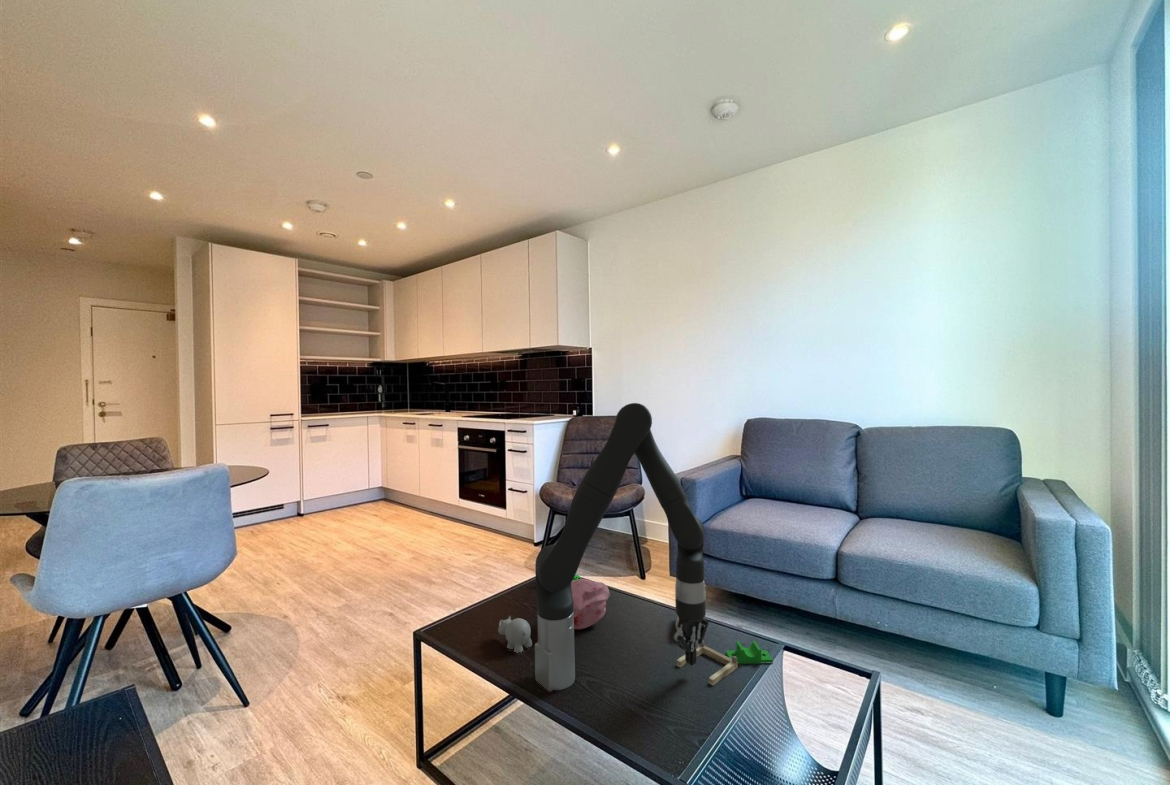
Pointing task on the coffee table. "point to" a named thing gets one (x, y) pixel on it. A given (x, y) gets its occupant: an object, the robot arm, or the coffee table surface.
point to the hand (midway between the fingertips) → (691, 663)
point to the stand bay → (730, 663)
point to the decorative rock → (588, 602)
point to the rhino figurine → (516, 633)
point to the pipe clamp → (749, 654)
